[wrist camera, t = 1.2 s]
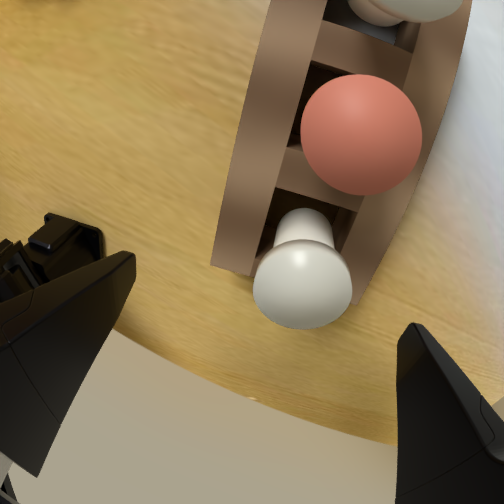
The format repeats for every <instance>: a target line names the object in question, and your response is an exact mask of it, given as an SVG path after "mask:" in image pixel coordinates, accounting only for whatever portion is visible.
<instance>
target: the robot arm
mask: <svg viewBox="0 0 504 504" xmlns="http://www.w3.org/2000/svg"><path fill="white" fill-rule="evenodd" d="M44 221H45V225H44V226H42V227H41V228H40V229H39V230H37V231H36V232H35V233H34V234H32V235H31V236H30V237H29V238H28V243H27V244H26V245H24V246H23V244H22V242H21V241H20V240H19V241H17V242H16V243H14V244H13V242H11V241H9V240H8V239H4V240H3V241H2V242H0V504H19V503H18V502H17V499H16V496H15V494H14V491H13V488H12V485H11V482H10V479H9V475H8V471H9V469H10V467H11V464H12V462H14V463H16V464H17V465H18V466H20V467H21V468H23V469H24V470H26V471H27V472H29V473H30V474H32V475H33V476H35V477H36V478H37V477H38V475H39V473H40V471H41V468H42V466H43V464H44V461H45V459H46V457H47V455H48V452H49V450H50V448H51V446H52V443H53V441H54V439H55V437H56V435H57V433H58V430H59V428H60V426H61V425H60V424H62V422H63V420H64V417H65V415H66V413H67V411H68V409H69V407H70V405H71V403H72V401H73V399H74V397H75V396H76V394H77V392H78V390H79V388H80V386H81V384H82V382H83V380H84V378H85V376H86V375H87V373H88V371H89V369H90V367H91V365H92V363H93V362H94V360H95V358H96V356H97V354H98V353H99V351H100V349H101V347H102V345H103V343H104V342H105V340H106V338H107V337H108V335H109V333H110V331H111V330H112V328H113V326H114V325H115V323H116V321H117V319H118V317H119V315H120V313H121V310H122V308H123V306H124V304H125V302H126V299H127V297H128V295H129V293H130V291H131V289H132V286H133V284H134V282H135V279H136V256H135V254H134V253H131V252H128V251H120V252H118V253H115V254H113V255H110V256H108V257H106V258H103V251H102V234H101V231H100V230H99V229H98V228H96V227H93V226H90V225H87V224H84V223H80V222H78V221H75V220H72V219H69V218H65V217H62V216H59V215H55V214H52V213H47V214H46V215H45V216H44ZM95 233H96V234H95ZM396 392H397V419H398V457H397V458H398V459H397V483H396V498H395V504H504V422H503V420H502V419H501V418H500V417H499V416H498V414H497V413H496V412H495V411H494V410H493V409H492V407H491V406H490V405H489V403H488V402H487V401H486V400H485V398H484V397H483V396H482V395H481V393H480V392H479V391H478V389H477V388H476V387H475V386H474V384H473V383H472V382H471V381H470V380H469V378H468V377H467V376H466V375H465V373H464V372H463V371H462V370H461V369H460V367H459V366H458V365H457V364H456V363H455V361H454V360H453V359H452V358H451V357H450V356H449V354H448V353H447V352H446V351H445V350H444V349H443V347H442V346H441V345H440V344H439V343H438V342H437V340H436V339H435V338H434V337H433V336H432V335H431V334H430V333H429V331H428V330H427V329H426V328H425V327H424V326H423V325H422V324H419V323H414V322H413V323H410V324H409V325H408V327H407V328H406V330H405V331H404V333H403V334H402V335H401V337H400V338H399V340H398V344H397V375H396Z"/></svg>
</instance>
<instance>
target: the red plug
mask: <svg viewBox="0 0 504 504" xmlns="http://www.w3.org/2000/svg"><path fill="white" fill-rule="evenodd" d="M301 143H302V148H303V151H304V154H305V157H306V159H307V161H308V163H309V165H310V166H311V168H312V169H313V171H314V172H315V173H316V174H317V175H318V176H319V177H320V178H321V179H322V180H323V181H324V182H326V183H327V184H328V185H330V186H331V187H333V188H335V189H337V190H339V191H342V192H345V193H348V194H353V195H374V194H379V193H382V192H385V191H388V190H390V189H391V188H393V187H395V186H397V185H398V184H399V183H401V182H402V181H403V180H404V179H405V178H406V177H407V176H408V175H409V174H410V172H411V171H412V169H413V168H414V166H415V164H416V162H417V160H418V158H419V154H420V151H421V146H422V128H421V124H420V120H419V117H418V114H417V112H416V110H415V108H414V106H413V104H412V103H411V101H410V100H409V99H408V97H407V96H406V95H405V94H404V93H403V92H402V91H401V90H400V89H398V88H397V87H396V86H394V85H393V84H391V83H390V82H388V81H386V80H384V79H381V78H378V77H375V76H370V75H360V74H357V75H346V76H342V77H338V78H335V79H333V80H330V81H329V82H327V83H325V84H324V85H322V86H321V87H320V88H318V89H317V90H316V91H315V92H314V94H313V95H312V96H311V98H310V99H309V100H308V102H307V104H306V106H305V109H304V111H303V115H302V120H301Z"/></svg>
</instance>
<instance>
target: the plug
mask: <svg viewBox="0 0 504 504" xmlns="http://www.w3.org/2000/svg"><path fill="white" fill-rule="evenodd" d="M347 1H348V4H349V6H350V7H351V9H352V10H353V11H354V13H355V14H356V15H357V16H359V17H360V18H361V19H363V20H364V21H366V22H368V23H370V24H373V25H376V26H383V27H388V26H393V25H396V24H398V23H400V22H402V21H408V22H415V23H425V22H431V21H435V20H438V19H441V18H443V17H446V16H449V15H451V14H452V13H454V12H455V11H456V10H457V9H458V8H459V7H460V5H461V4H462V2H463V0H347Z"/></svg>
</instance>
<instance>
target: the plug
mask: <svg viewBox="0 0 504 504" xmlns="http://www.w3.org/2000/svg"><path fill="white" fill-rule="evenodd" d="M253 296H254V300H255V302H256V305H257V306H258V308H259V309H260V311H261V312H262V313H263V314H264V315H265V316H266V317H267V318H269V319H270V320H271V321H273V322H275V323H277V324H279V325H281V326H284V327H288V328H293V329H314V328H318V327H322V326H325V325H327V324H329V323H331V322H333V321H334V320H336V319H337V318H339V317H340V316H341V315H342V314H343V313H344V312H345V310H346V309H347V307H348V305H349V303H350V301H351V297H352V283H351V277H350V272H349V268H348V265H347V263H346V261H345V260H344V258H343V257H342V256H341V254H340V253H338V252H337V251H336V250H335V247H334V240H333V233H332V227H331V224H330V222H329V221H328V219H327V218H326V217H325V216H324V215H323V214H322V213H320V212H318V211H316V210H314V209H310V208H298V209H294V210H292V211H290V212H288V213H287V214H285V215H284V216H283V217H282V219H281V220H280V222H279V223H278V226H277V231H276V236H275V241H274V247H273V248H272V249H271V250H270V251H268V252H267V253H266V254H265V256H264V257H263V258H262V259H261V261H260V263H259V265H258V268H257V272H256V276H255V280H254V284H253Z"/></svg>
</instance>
